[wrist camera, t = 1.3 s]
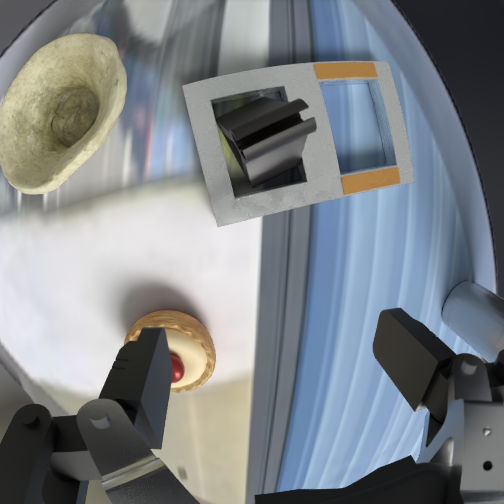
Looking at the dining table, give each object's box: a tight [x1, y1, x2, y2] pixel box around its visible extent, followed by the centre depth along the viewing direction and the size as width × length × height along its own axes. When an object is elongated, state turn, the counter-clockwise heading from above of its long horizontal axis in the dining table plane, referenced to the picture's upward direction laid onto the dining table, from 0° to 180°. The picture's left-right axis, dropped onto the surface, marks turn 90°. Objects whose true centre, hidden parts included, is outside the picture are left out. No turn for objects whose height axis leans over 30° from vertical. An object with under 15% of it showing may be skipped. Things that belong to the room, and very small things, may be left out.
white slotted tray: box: [182, 61, 414, 227], centre depth 29 cm, size 25×16×3 cm, turn 104°
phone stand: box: [215, 97, 317, 188], centre depth 24 cm, size 9×6×12 cm, turn 27°
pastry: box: [124, 310, 216, 393], centre depth 32 cm, size 12×12×9 cm
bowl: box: [0, 32, 127, 194], centre depth 20 cm, size 14×18×15 cm
